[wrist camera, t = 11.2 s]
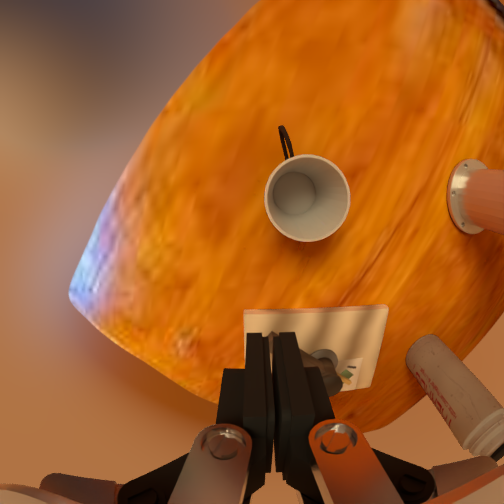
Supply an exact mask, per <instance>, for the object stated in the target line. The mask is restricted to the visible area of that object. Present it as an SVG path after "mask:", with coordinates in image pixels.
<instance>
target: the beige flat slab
mask: <svg viewBox="0 0 504 504" xmlns="http://www.w3.org/2000/svg"><path fill="white" fill-rule="evenodd" d="M388 310H389V308H388V307H387V306H386V305H385V304H381V305H367V306H351V307H332V308H308V309H264V310H244V344H245V357H246V334H247V333H262V337H266V336H267V335H268V334H269V333H270V332H271V331H273V332H275V333H276V334H278V335H279V332H295V334H296V338H297V342H298V346H299V348H300V349H301V350H303V351H305V352H306V353H308V354H309V355H311V356H313V357H314V358H316V359H319V358H323V357H326V358H329V359H331V360H332V362H333V365H334V368H335V370H336V372H337V373H339V374H341V375H343V376H344V377H346V378H348V379H349V380H351V382H352V383H351V384H350V385H347V384H346V383H344V382H343V387H342V389H341V390H340V391H348V390H355V389H360V388H367V387H370V385H371V381H372V378H373V374H374V371H375V367H376V363H377V360H378V356H379V352H380V348H381V343H382V339H383V335H384V330H385V325H386V321H387V316H388ZM270 361H271V373H272V354H271V353H270Z"/></svg>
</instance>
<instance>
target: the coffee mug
mask: <svg viewBox="0 0 504 504" xmlns="http://www.w3.org/2000/svg"><path fill="white" fill-rule="evenodd" d="M278 129H279V135H280V140H281V144H282V148H283V152H284V156H285V161H284V162H282V163H281V164H280V165H279V166H278V167H277V168H276V169H275V170H274V171H273V172H272V174H271V175H270V177H269V179H268V182H267V184H266V188H265V193H264V203H265V208H266V212H267V214H268V217H269V219H270V221H271V222H272V224H273V225H274V226H275V227H276V228H277V229H278V230H279V231H280V232H281V233H282V234H284V235H285V236H287V237H289V238H291V239H294V240H297V241H302V242H313V241H318V240H322V239H324V238H326V237H328V236H330V235H331V234H333V233H334V232H335V231H336V230H337V229H338V228H339V227H340V226H341V225H342V223H343V222H344V220H345V219H346V216H347V214H348V211H349V207H350V190H349V186H348V183H347V180H346V178H345V176H344V175H343V173H342V172H341V170H340V169H339V168H338V167H337V166H336V165H335V164H333V163H332V162H330V161H329V160H327V159H325V158H323V157H320V156H316V155H307V154H304V155H298V156H294V154H293V149H292V144H291V141H290V139H289V136H288V134H287V131H286V129H285V127H284V126H283V125H282V126H279V127H278ZM284 138H285V140H286V144H287V147H288V149H289V153H290V158H288V154H287V150H286V145H285V141H284Z"/></svg>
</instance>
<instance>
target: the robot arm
mask: <svg viewBox="0 0 504 504" xmlns="http://www.w3.org/2000/svg"><path fill="white" fill-rule="evenodd" d="M447 203H448V208H449V212H450V215H451V218H452V220H453V222H454V223H455V225H456V226H457V227H458V228H459V229H460V230H461V231H463V232H465V233H469V234H477V233H479V232H481V231H483V230H484V229H487V230H490V231H493V232H496V233H499V234H502V235H504V170H494V169H488V168H487V167H486V166H485V165H484V164H483V163H482V162H480V161H478V160H476V159H466V160H463V161H461V162H460V163H458V164H457V166H456V167H455V168H454V170H453V172H452V173H451V176H450V179H449V183H448V189H447ZM273 439H274V450H275V466H276V472H282V475H283V480H286V483H287V484H288V485H290V486H291V487H293V488H294V489H296V494H297V497H298V501H299V504H504V464H503V465H501V466H499V467H498V465H497V463H496V461H495V460H494V459H492V458H491V457H488V456H478V457H474V458H470V459H466V460H462V461H458V462H453V463H449V464H443V465H438V466H433V467H432V468H431V469H429V470H426V469H424V468H422V467H420V466H417V465H414V464H411V463H409V462H406V461H403V460H401V459H398V458H395V457H393V456H390V455H388V454H385V453H383V452H380V451H378V450H376V449H373V448H371V447H370V445H369V443H368V442H367V440H366V438H365V437H364V435H363V433H362V432H361V430H360V429H359V428H358V427H357V426H356V425H354V424H353V423H351V422H349V421H346V420H341V419H335V416H334V413H333V410H332V407H331V403H330V400H329V397H328V394H327V390H326V387H325V384H324V381H323V378H322V375H321V371H320V369H319V367H318V366H314V367H304V366H303V362H302V358H301V354H300V350H299V346H298V342H297V338H296V334H295V332H279V336H273V350H272V373H271V361H270V349H269V338H268V336H266V337H262V333H247V334H246V357H245V369H228V368H224V371H223V377H222V384H221V391H220V398H219V405H218V412H217V419H216V424H215V425H211V426H209V427H206V428H204V429H203V430H202V431H201V432H199V434H198V435H197V437H196V438H195V440H194V443H193V445H192V448H191V450H190V452H189V453H187V454H185V455H183V456H181V457H179V458H178V459H176V460H174V461H172V462H170V463H168V464H166V465H164V466H162V467H160V468H158V469H156V470H154V471H151V472H149V473H147V474H145V475H143V476H140V477H138V478H136V479H134V480H131V481H129V482H128V483H126V484H117V483H116V482H115V481H109V480H100V479H92V478H84V477H78V476H72V475H66V474H61V473H52V474H49V475H47V476H46V477H44V478H43V480H42V481H41V484H40V487H39V489H38V488H34V487H29V486H25V485H18V484H0V504H251V502H252V497H253V493H254V492H255V491H257V490H258V489H259V488H261V487H262V486H263V485H264V484H265V473H270V472H271V464H272V452H273Z"/></svg>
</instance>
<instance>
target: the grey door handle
mask: <svg viewBox="0 0 504 504" xmlns="http://www.w3.org/2000/svg"><path fill="white" fill-rule="evenodd" d="M267 336H268V338H269V349H270V353H271V354H272V350H273V336H279V335H278V334H276V333H275V332H273V331H271V332H270V333H269V334H268V335H267ZM299 350H300V354H301V358H302V362H303V366H304V367H314V366H318V367H319V369H320V371H321V375H322V378H323V381H324V384H325V387H326V390H327V394H328V397H330V396H333V395H335V394H337V393H338V392H340V390H341V389H342V387H343V382H344V383H346V384H347V385H350V384H351V383H352V382H351V380H349V379H348V378H346V377H344V376H343V375H341V374H339V373H337V372H336V370H335V368H334V365H333V362H332V360H331V359H329V358H326V357H323V358H319V359H316V358H314V357H313V356H311V355H309V354H308V353H306V352H305V351H303V350H301V349H300V348H299Z"/></svg>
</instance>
